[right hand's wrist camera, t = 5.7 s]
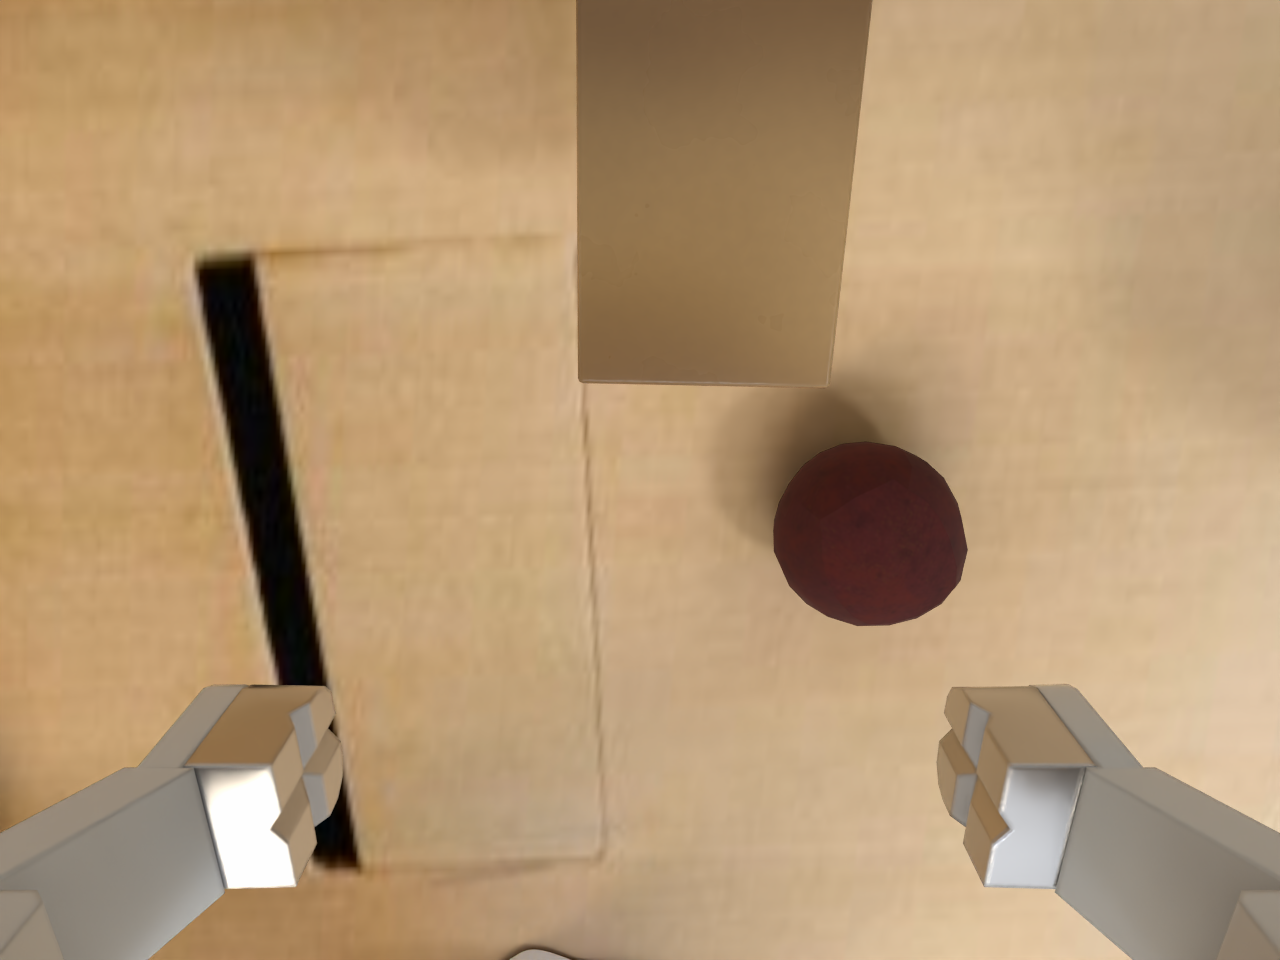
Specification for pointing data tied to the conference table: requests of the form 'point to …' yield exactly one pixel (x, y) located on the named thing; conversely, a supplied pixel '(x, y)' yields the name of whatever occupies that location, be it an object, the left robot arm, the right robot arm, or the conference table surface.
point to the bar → (714, 187)
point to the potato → (870, 535)
